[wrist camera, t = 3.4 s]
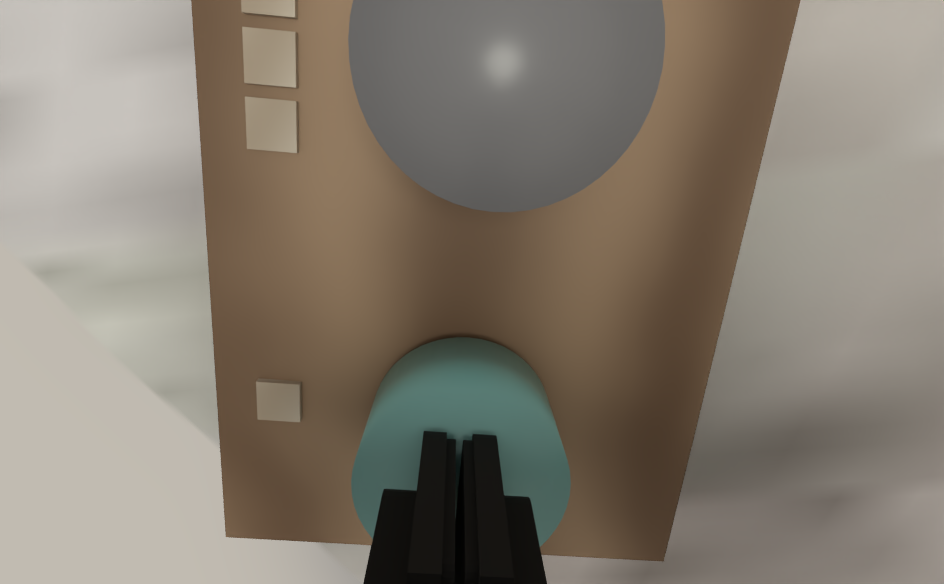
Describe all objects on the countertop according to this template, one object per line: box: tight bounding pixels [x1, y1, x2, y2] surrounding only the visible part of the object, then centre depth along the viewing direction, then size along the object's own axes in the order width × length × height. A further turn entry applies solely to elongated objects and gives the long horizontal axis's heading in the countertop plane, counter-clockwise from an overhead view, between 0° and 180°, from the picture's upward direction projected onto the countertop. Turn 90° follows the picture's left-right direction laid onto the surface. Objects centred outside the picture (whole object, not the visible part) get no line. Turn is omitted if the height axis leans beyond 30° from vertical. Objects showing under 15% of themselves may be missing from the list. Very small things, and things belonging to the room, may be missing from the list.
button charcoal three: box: [348, 0, 665, 212], centre depth 10 cm, size 5×5×3 cm
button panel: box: [191, 0, 800, 561], centre depth 14 cm, size 14×28×3 cm, turn 175°
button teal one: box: [351, 337, 571, 546], centre depth 13 cm, size 5×5×3 cm
